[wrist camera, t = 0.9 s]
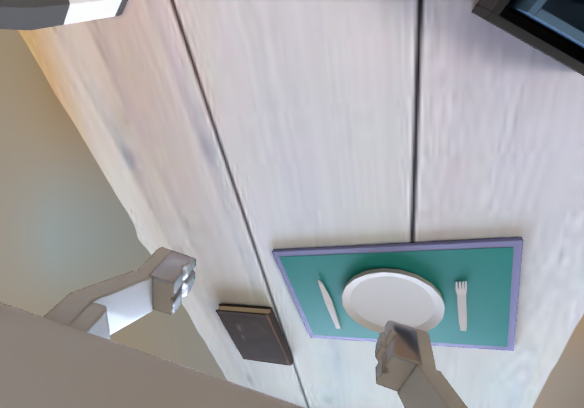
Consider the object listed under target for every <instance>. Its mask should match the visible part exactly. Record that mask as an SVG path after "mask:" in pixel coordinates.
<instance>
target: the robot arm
mask: <svg viewBox="0 0 584 408" xmlns="http://www.w3.org/2000/svg"><path fill="white" fill-rule="evenodd" d="M195 266H196V259H195V258H193V257H190V256H187V255H184V254H182V253H179V252H176V251H172V250H169V249H166V248H164V247H161V248H159V249H157V250H156V251H155V252H154V254H153V255H152V256H151V257H150V258H149V259H148V260H147V261H146V262H145V263H144V264H143V265H142V266H141V267H140V268H139V269H138V270H137V271H131V272H128V273H125V274H122V275H119V276H117V277H113V278H111V279H108V280H105V281H103V282H100V283H97V284H94V285H91V286H88V287H85V288H83V289H80V290H77V291H74V292H71V293H70V294H68V295H67V296H66V297H65V298H64V299H63V300H62V301H61V302H59V303H58V304H57V305H56V306H55V307H54V308H53V309H52V310H50V311H49V312H48V313H47V314H46V315H45V316H44V317H42V316H39V315H36V314H33V313H30V312H28V311H24V310H22V309H18V308H16V307H13V306H10V305H7V304H4V303H2V302H0V408H304V407H301V406H298V405H295V404H292V403H289V402H286V401H284V400H281V399H278V398H275V397H272V396H269V395H266V394H263V393H261V392H258V391H255V390H252V389H249V388H246V387H243V386H241V385H238V384H235V383H232V382H229V381H226V380H223V379H220V378H217V377H215V376H212V375H209V374H206V373H203V372H200V371H197V370H195V369H192V368H188V367H186V366H182V365H180V364H177V363H174V362H171V361H169V360H166V359H163V358H160V357H157V356H154V355H151V354H148V353H145V352H143V351H139V350H137V349H134V348H131V347H128V346H125V345H122V344H120V343H117V342H114V341H111V338H110V335H111V334H113V333H114V332H116V331H118V330H119V329H121V328H123V327H125V326H127V325H128V324H130V323H132V322H134V321H135V320H137V319H139V318H141V317H142V316H144V315H146V314H148V313H149V312H151V311H152V310H153V309H154V310H157V311H160V312H163V313H167V314H170V315H174V313H175V312H176V310H177V309H178V307H179V306H180V304H181V303H182V297H183V296H185V295H187V294H188V293H189V291H190V290H191V287H192V285H193V283H194V279H195V272H194V270H193V269H194V267H195ZM375 357H376V359H377V360H378V364H377V366H376V384H379V385H381V386H384V387H387V388H389V389H392V390H395V391H398V392H397V393H398V395H399V397H400V399H401V401H402V403H403V405H404V407H405V408H467V406H466V405H465V404H464V402H463V401H462V400H461V398H460V397H459V396H458V394H457V393H456V392H455V390H454V389H453V388H452V387H451V385H450V384H449V383H448V381H447V380H446V379H445V377H444V376H443V375H442V373H441V372H440V371H437V370H436V366H435V361H434V356H433V351H432V346H431V342H430V337H429V334H428V332H426V331H423V330H420V329H417V328H413V327H410V326H407V325H404V324H400V323H397V322H394V321H391V320H389V321H388V322H387V323H386V325H385V332H382V333H380V335H379V337H378V340H377V343H376V350H375Z"/></svg>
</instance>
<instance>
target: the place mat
mask: <svg viewBox="0 0 584 408" xmlns="http://www.w3.org/2000/svg"><path fill="white" fill-rule="evenodd" d="M522 249H523V239H522V237H518V238H498V239H479V240H459V241H439V242H420V243H400V244H380V245H361V246H341V247H321V248H302V249H282V250H273V251H272V253H273V256H274V258H275V260H276V262H277V265H278V267H279V269H280V271H281V273H282V276H283V278H284V280H285V282H286V284H287V287H288V289H289V291H290V293H291V296H292V298H293V300H294V302H295V304H296V307H297V309H298V311H299V313H300V315H301V318H302V320H303V322H304V324H305V326H306V329H307V331H308V333H309V335H310V338H325V339H340V340H356V341H371V342H377V340H378V337H379V335H380V333H382V332H385V325H386V323H387V322H388V321H389V320H391V321H394V322H397V323H400V324H404V325H407V326H410V327H413V328H417V329H420V330H423V331H426V332H428V334H429V337H430V342H431V345H432V346H447V347H462V348H477V349H493V350H508V351H514V345H515V333H516V321H517V309H518V297H519V285H520V273H521V261H522Z"/></svg>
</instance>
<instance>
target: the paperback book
mask: <svg viewBox="0 0 584 408" xmlns="http://www.w3.org/2000/svg"><path fill="white" fill-rule="evenodd" d="M219 306H220V307H219V309H218V310H216V312H217V314H218V315H219V317H220V319H221V321H222V322H223V324H224V326H225V328H226V329H227V331H228V333H229V335H230V336H231V338H232V340H233V342H234V343H235V345H236V347H237V349H238V350H239V352H240V354H241V356H242V357H243V359H247V360H254V361H261V362H268V363H276V364H283V365H292V364H293V357H292V355H291V352H290V350H289V348H288V345H287V343H286V341H285V338H284V336H283V334H282V331H281V329H280V327H279V324H278V322H277V320H276V317H275V315H274V313H273V310H272V308H270V307H256V306H243V305H229V304H219Z"/></svg>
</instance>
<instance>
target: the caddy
mask: <svg viewBox="0 0 584 408" xmlns="http://www.w3.org/2000/svg"><path fill="white" fill-rule="evenodd" d="M506 8H508V9H510V10H512V11H513V12H515V13H517V14H519V15H520V16H522V17H524V18H526V19H527V20H529V21H531V22H533V23H534V24H536V25H538V26H539V27H541V28H543V29H545V30H546V31H548V32H550V33H552V34H553V35H555V36H557V37H559V38H560V39H562V40H564V41H566V42H567V43H569V44H571V45H573V46H574V47H576V48H578V49H580V50H581V51H583V52H584V0H510V1H509V3H508V4H507V5H506Z"/></svg>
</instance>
